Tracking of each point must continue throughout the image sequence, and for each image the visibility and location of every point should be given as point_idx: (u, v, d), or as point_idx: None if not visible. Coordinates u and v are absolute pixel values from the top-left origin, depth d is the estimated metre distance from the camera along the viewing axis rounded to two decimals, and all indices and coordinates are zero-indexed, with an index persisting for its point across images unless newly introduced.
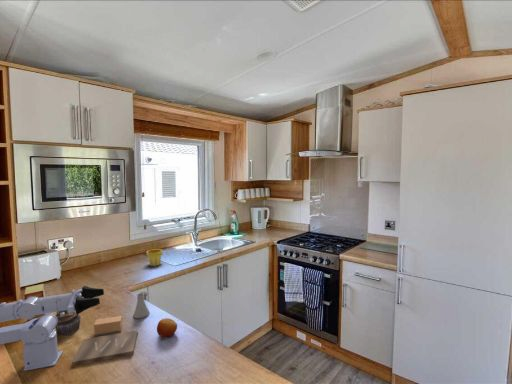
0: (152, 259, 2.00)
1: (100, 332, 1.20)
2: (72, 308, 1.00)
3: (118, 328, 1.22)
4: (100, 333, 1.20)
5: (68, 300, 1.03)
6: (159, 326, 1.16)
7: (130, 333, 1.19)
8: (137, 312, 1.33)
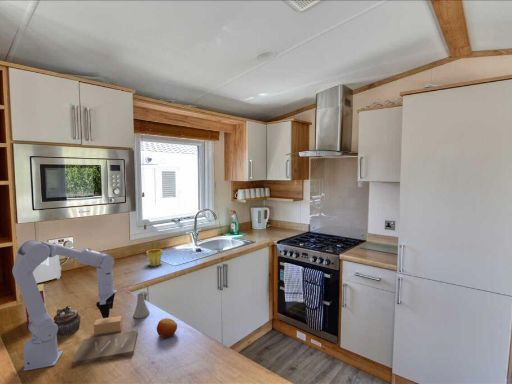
0: (152, 259, 2.00)
1: (100, 332, 1.20)
2: (103, 303, 1.15)
3: (118, 328, 1.22)
4: (100, 333, 1.20)
5: (108, 292, 1.20)
6: (159, 326, 1.16)
7: (130, 333, 1.19)
8: (137, 312, 1.33)
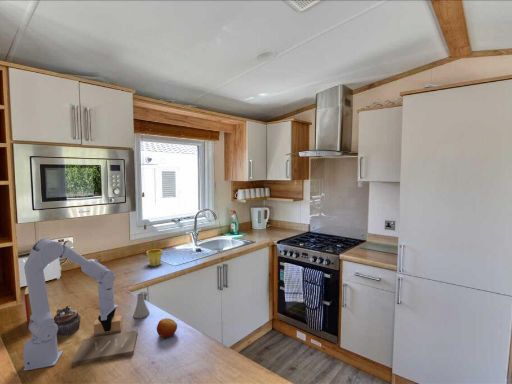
0: (152, 259, 2.00)
1: (100, 332, 1.20)
2: (105, 319, 1.16)
3: (118, 328, 1.22)
4: (100, 333, 1.20)
5: (109, 307, 1.20)
6: (159, 326, 1.16)
7: (130, 333, 1.19)
8: (137, 312, 1.33)
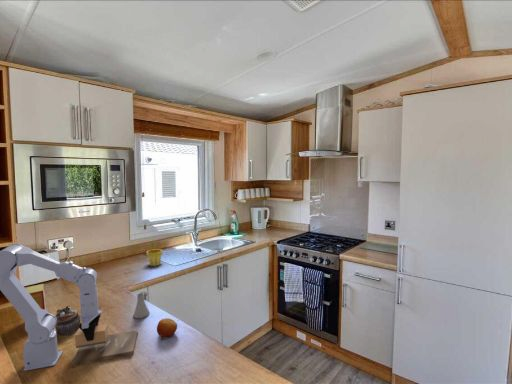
0: (152, 259, 2.00)
1: (82, 343, 1.07)
2: (86, 327, 1.02)
3: (103, 338, 1.09)
4: (82, 344, 1.07)
5: (92, 313, 1.07)
6: (159, 326, 1.16)
7: (130, 333, 1.19)
8: (137, 312, 1.33)
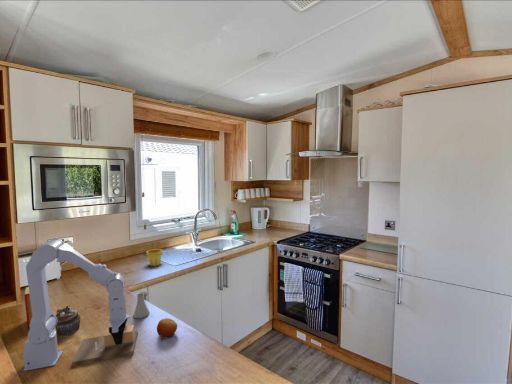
0: (152, 259, 2.00)
1: (111, 344, 1.10)
2: (116, 331, 1.05)
3: (130, 339, 1.11)
4: (111, 345, 1.10)
5: (121, 317, 1.10)
6: (159, 326, 1.16)
7: None
8: (137, 312, 1.33)
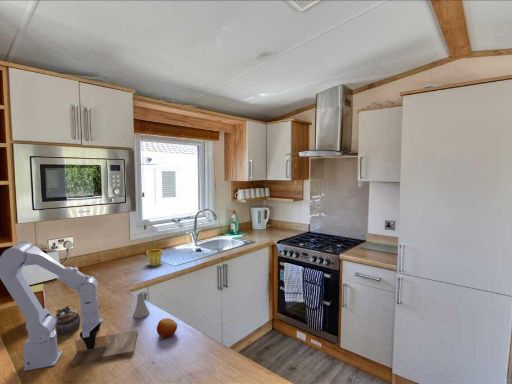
0: (152, 259, 2.00)
1: (83, 348, 1.07)
2: (87, 336, 1.02)
3: (103, 343, 1.09)
4: (83, 349, 1.07)
5: (93, 322, 1.07)
6: (159, 326, 1.16)
7: (130, 333, 1.19)
8: (137, 312, 1.33)
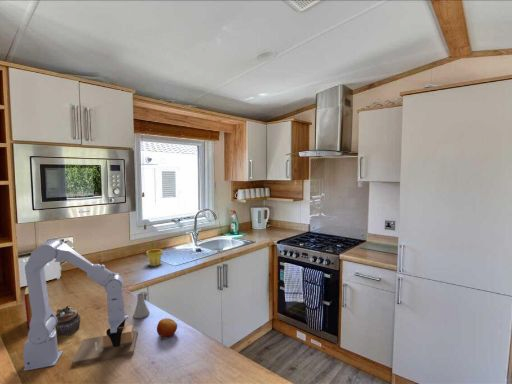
0: (152, 259, 2.00)
1: (109, 344, 1.09)
2: (114, 331, 1.05)
3: (129, 339, 1.11)
4: (109, 345, 1.10)
5: (119, 318, 1.09)
6: (159, 326, 1.16)
7: None
8: (137, 312, 1.33)
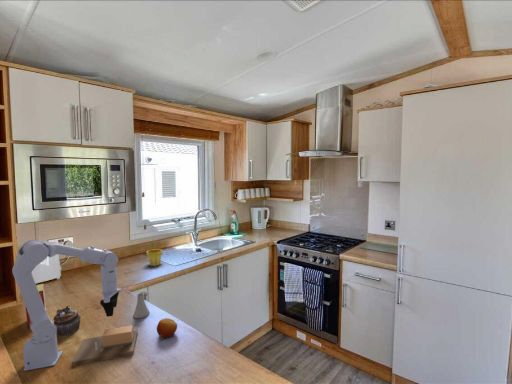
0: (152, 259, 2.00)
1: (109, 344, 1.09)
2: (108, 301, 1.14)
3: (129, 339, 1.11)
4: (109, 345, 1.10)
5: (112, 290, 1.18)
6: (159, 326, 1.16)
7: None
8: (137, 312, 1.33)
